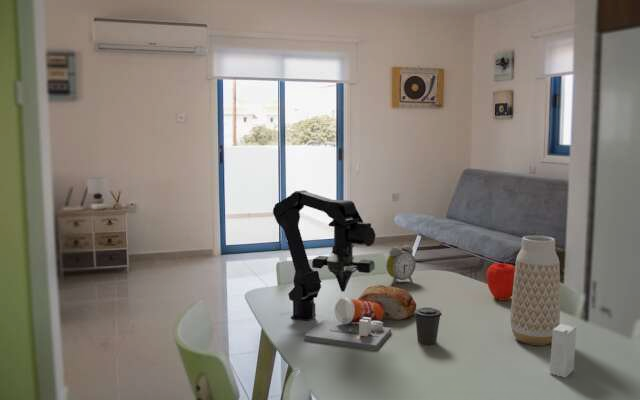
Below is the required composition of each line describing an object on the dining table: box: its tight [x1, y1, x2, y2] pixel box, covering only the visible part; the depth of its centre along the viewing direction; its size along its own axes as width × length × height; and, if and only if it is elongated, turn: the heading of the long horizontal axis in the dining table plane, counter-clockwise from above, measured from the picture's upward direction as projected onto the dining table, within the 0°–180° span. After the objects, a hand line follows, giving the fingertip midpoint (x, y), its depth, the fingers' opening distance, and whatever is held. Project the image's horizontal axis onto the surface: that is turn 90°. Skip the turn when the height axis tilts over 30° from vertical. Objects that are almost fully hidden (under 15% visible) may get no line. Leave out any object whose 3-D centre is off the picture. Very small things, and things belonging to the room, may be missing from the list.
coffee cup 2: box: [413, 307, 442, 347], centre depth 180 cm, size 8×8×10 cm
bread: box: [356, 284, 417, 321], centre depth 209 cm, size 20×18×10 cm
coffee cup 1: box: [334, 296, 383, 324], centre depth 194 cm, size 8×8×15 cm
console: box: [304, 319, 392, 351], centre depth 185 cm, size 22×16×4 cm
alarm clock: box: [386, 244, 416, 285], centre depth 248 cm, size 12×7×15 cm, turn 123°
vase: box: [510, 235, 561, 346], centre depth 181 cm, size 14×14×31 cm
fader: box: [358, 317, 371, 336], centre depth 182 cm, size 2×4×5 cm, turn 158°
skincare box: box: [549, 323, 577, 379], centre depth 158 cm, size 6×4×12 cm
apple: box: [486, 262, 515, 301], centre depth 224 cm, size 12×12×13 cm
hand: (343, 291), depth 191 cm, fingers closed
